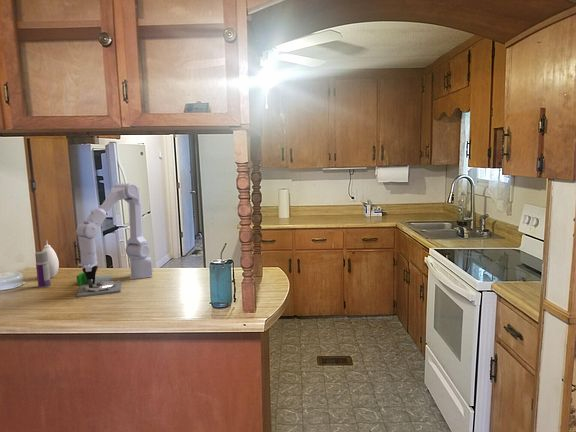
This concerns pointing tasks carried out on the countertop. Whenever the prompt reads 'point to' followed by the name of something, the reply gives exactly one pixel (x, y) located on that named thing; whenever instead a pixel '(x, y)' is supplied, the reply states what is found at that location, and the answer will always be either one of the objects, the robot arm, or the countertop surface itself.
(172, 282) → the countertop surface
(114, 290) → the mount plate
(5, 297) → the countertop surface
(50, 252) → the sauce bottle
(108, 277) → the mat
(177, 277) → the countertop surface
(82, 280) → the pipe clamp
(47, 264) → the container
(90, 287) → the sprocket
